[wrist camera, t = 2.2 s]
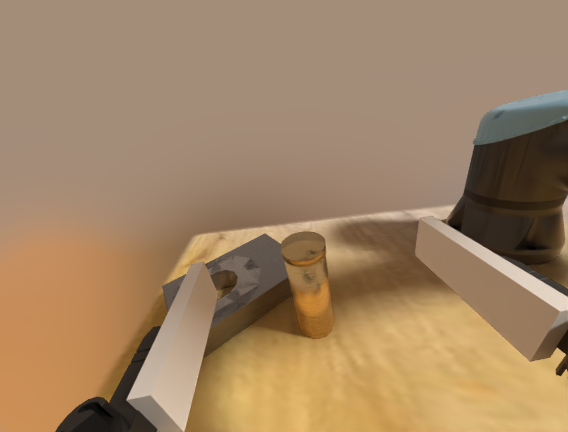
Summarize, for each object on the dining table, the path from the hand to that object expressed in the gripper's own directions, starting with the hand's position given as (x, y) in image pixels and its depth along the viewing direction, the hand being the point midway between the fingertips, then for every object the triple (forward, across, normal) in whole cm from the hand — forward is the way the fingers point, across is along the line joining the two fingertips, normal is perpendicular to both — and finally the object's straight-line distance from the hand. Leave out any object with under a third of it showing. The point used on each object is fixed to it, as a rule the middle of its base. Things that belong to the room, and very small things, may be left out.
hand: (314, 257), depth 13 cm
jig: (+19, -12, -20) cm, 30 cm away
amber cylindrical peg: (+10, 0, -20) cm, 22 cm away
